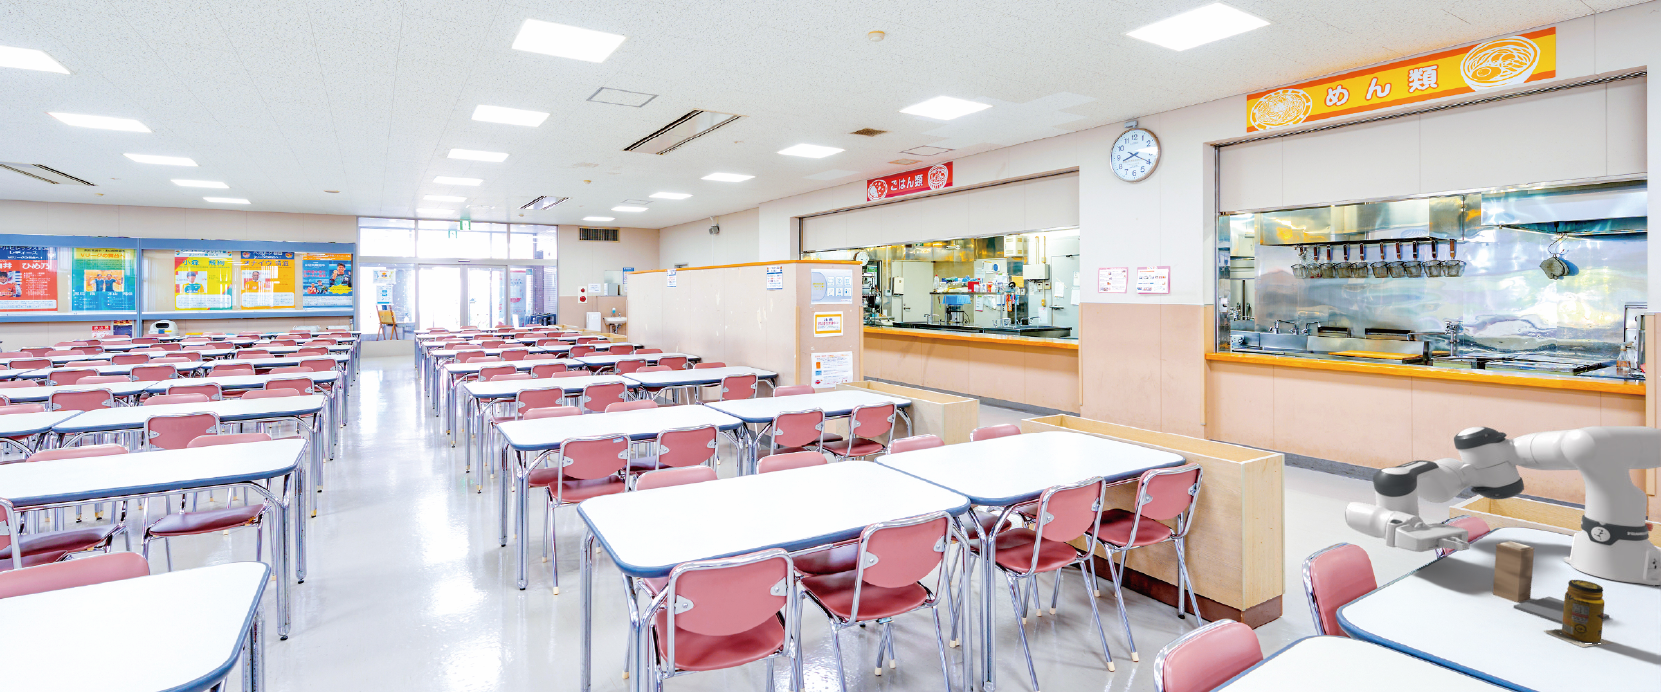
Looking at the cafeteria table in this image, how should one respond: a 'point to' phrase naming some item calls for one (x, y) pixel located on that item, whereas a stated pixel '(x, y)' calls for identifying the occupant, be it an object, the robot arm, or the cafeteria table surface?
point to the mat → (1546, 608)
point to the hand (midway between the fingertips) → (1465, 547)
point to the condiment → (1582, 614)
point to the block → (1513, 571)
